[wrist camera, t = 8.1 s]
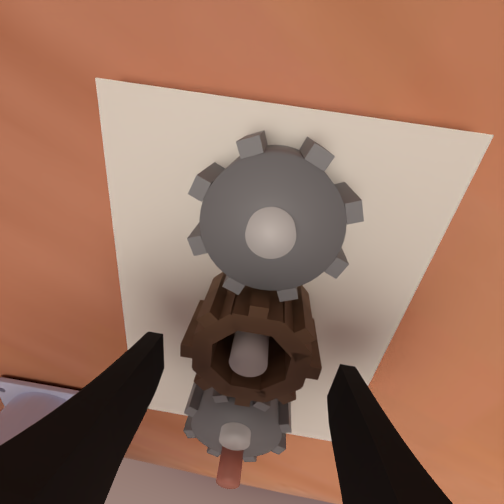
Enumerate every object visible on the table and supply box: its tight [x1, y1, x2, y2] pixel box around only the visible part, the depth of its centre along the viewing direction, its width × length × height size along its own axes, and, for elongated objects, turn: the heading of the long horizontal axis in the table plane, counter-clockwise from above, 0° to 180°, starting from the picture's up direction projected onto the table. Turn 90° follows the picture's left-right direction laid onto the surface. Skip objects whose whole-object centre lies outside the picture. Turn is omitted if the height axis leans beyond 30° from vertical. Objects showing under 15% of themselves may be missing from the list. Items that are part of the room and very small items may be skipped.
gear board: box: [95, 78, 494, 489], centre depth 13 cm, size 19×14×6 cm
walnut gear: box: [180, 272, 322, 407], centre depth 12 cm, size 6×6×3 cm
